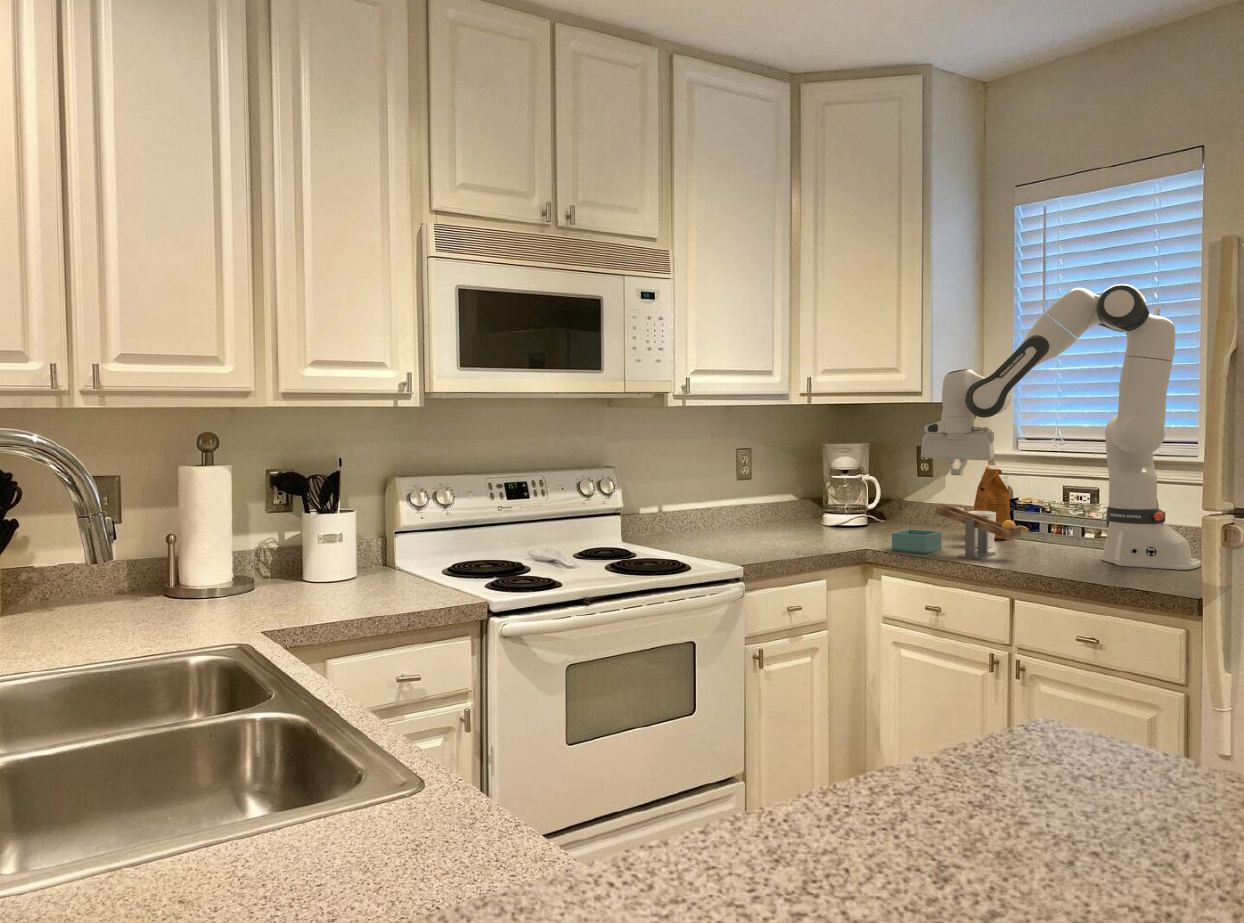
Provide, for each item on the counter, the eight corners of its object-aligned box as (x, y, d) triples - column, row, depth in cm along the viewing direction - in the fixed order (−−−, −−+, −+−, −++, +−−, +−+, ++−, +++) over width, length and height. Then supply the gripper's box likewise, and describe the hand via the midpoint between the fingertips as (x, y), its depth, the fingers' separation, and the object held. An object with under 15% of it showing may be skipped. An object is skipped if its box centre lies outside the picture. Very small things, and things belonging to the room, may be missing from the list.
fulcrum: (995, 554, 263) (995, 516, 263) (979, 559, 255) (979, 520, 255) (974, 552, 267) (974, 515, 267) (957, 557, 259) (957, 519, 259)
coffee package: (1002, 535, 299) (1002, 465, 298) (1013, 541, 287) (1013, 468, 286) (969, 535, 301) (969, 466, 299) (979, 541, 288) (979, 469, 287)
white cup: (1000, 548, 275) (1000, 513, 274) (972, 548, 275) (972, 514, 274) (990, 543, 282) (990, 510, 282) (963, 544, 283) (963, 511, 282)
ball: (1016, 533, 255) (1018, 520, 255) (1011, 534, 253) (1013, 522, 252) (1003, 530, 258) (1005, 518, 257) (998, 532, 255) (1000, 519, 255)
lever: (1028, 535, 261) (1031, 523, 260) (1010, 540, 252) (1013, 528, 251) (953, 509, 275) (956, 498, 274) (933, 514, 266) (937, 502, 265)
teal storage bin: (941, 549, 274) (941, 531, 273) (925, 554, 266) (925, 535, 266) (908, 546, 281) (908, 528, 280) (892, 550, 273) (891, 532, 273)
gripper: (998, 427, 265) (997, 476, 266) (928, 425, 279) (928, 472, 280) (989, 427, 260) (988, 477, 261) (919, 426, 274) (918, 474, 275)
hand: (956, 475), depth 271 cm, fingers closed
